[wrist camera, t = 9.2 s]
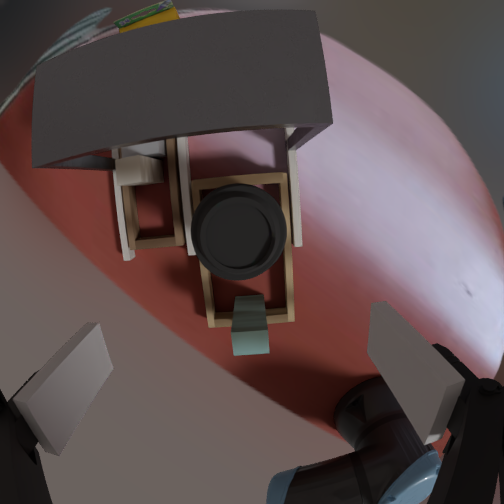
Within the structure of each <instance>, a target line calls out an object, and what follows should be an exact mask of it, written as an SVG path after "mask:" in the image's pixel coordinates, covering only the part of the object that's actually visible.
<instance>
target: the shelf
mask: <svg viewBox="0 0 504 504" xmlns="http://www.w3.org/2000/svg"><path fill="white" fill-rule="evenodd" d="M331 124H333V119H332V110H331V102H330V94H329V87H328V80H327V73H326V67H325V60H324V54H323V49H322V43H321V38H320V32H319V27H318V22H317V18H316V12H315V11H311V10H253V11H236V12H225V13H216V14H208V15H200V16H194V17H187V18H182V19H176V20H171V21H166V22H161V23H157V24H153V25H148V26H144V27H140V28H136V29H133V30H129V31H126V32H122V33H119V34H116V35H112V36H109V37H106V38H103V39H100V40H97V41H94V42H92V43H89V44H86V45H83V46H81V47H78V48H76V49H73V50H71V51H68V52H66V53H64V54H61V55H59V56H57V57H54V58H52V59H50V60H48V61H46V62H44V63H42V64H39V65H37V68H36V76H35V85H34V96H33V111H32V168H54V169H81V170H100V171H116V165H115V160H116V159H113V158H107V157H100V156H94V155H92V154H96V153H101V152H105V151H110V150H114V149H119V148H124V147H129V146H134V145H139V144H144V143H150V142H156V141H162V140H168V139H174V138H181V137H188V136H196V135H204V134H212V133H221V132H231V131H243V130H256V129H272V128H295V127H297V128H296V129H295V130H294V132H293V133H292V134H291V135H290V136H289V138H288V139H287V140H286V141H285V142H286V152H287V142H288V150H297V149H298V148H300V147H301V146H302V145H304V144H305V143H306V142H308V141H309V140H310V139H312V138H313V137H315V136H316V135H317V134H319V133H320V132H322V131H323V130H324V129H326V128H327V127H328V126H330V125H331Z"/></svg>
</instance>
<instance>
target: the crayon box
mask: <svg viewBox="0 0 504 504" xmlns="http://www.w3.org/2000/svg"><path fill="white" fill-rule="evenodd" d="M153 8H156V10H154V11H152V12H150V13H148V14H147V15H145V16H140V17H137V18H135V19H131V18H132V17H133V16H136V15H138V14H140V12H143V11H148V10H150V9H153ZM176 19H180V18H179V15H178V13H177V11H176V9H175V7H174V6H173V3H172V2H171V0H165V1H162V2H160V3H157V4H154V5H152V6H149V7H146V8H144V9H141V10H139V11H137V12H134V13H132V14H130V15H128V16H125V17H123V18H121V19H119V20H117V21H114V22H113V23H114V24H115V25H116V26H117V27H118V28H119V32H120V33H122V32H126V31H129V30H133V29H136V28H140V27H144V26H148V25H153V24H157V23H161V22H166V21H171V20H176Z"/></svg>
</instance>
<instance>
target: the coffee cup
mask: <svg viewBox="0 0 504 504" xmlns="http://www.w3.org/2000/svg"><path fill="white" fill-rule="evenodd" d="M286 238H287V224H286V219H285V216H284V213H283V211H282V209H281V207H280V206H279V204H278V203H277V201H276V200H275V199H274V198H273V197H272V196H271V195H270V194H268V193H267V192H266V191H264V190H262V189H260V188H258V187H256V186H253V185H249V184H242V183H235V184H228V185H224V186H221V187H219V188H217V189H215V190H213V191H212V192H210V193H209V194H208V195H207V196H205V197H204V198H203V200H202V201H201V202H200V203H199V205H198V206H197V208H196V210H195V212H194V215H193V218H192V222H191V240H192V244H193V247H194V251H195V253H196V255H197V257H198V259H199V260H200V262H201V263H202V264H203V266H204V267H205V268H206V269H207V270H209V271H210V272H211V273H213V274H215V275H216V276H218V277H221V278H224V279H228V280H246V279H250V278H253V277H256V276H258V275H260V274H262V273H263V272H265V271H266V270H267V269H269V268H270V267H271V266H272V265H273V264H274V263H275V262H276V261H277V260H278V258H279V257H280V255H281V253H282V251H283V249H284V246H285V243H286Z"/></svg>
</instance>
